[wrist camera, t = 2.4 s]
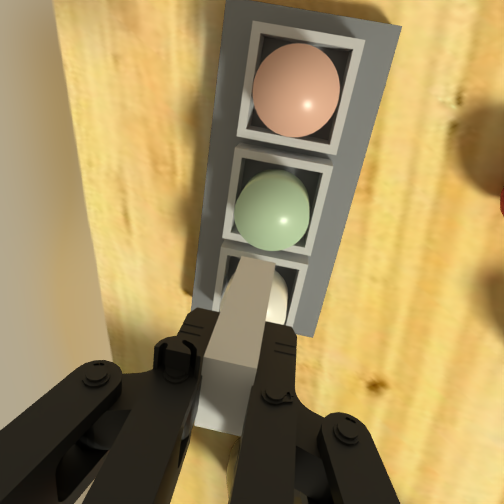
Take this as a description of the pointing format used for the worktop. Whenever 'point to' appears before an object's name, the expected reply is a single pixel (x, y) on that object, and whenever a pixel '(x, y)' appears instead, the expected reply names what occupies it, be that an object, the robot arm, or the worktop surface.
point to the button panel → (288, 148)
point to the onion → (502, 202)
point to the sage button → (272, 210)
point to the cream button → (271, 299)
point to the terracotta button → (296, 90)
